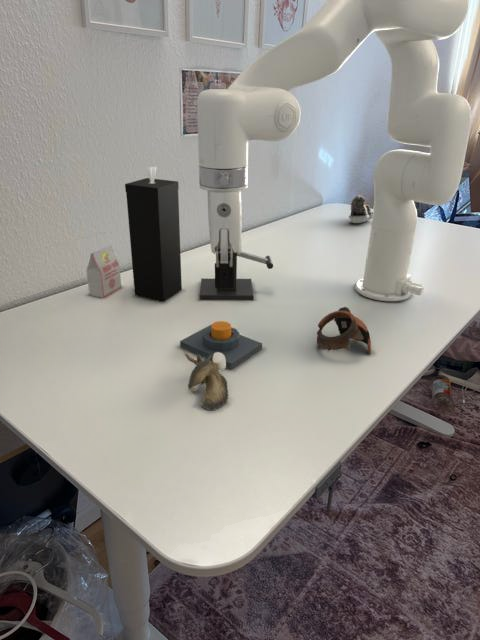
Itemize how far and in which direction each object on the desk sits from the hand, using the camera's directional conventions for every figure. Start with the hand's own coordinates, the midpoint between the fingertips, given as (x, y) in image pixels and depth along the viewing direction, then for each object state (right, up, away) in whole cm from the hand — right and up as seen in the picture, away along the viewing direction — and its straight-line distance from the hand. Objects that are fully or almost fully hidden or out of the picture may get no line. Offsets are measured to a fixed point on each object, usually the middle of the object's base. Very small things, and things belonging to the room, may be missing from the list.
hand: (224, 286), depth 82 cm
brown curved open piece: (+22, -11, +7) cm, 25 cm away
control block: (-1, -11, +5) cm, 12 cm away
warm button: (-1, -9, +4) cm, 9 cm away
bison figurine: (+45, +28, +86) cm, 101 cm away
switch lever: (+4, +8, +25) cm, 27 cm away
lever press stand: (0, +1, +29) cm, 29 cm away
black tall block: (-16, 0, +27) cm, 31 cm away
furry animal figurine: (-3, -17, -7) cm, 19 cm away
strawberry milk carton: (-28, +1, +27) cm, 39 cm away
